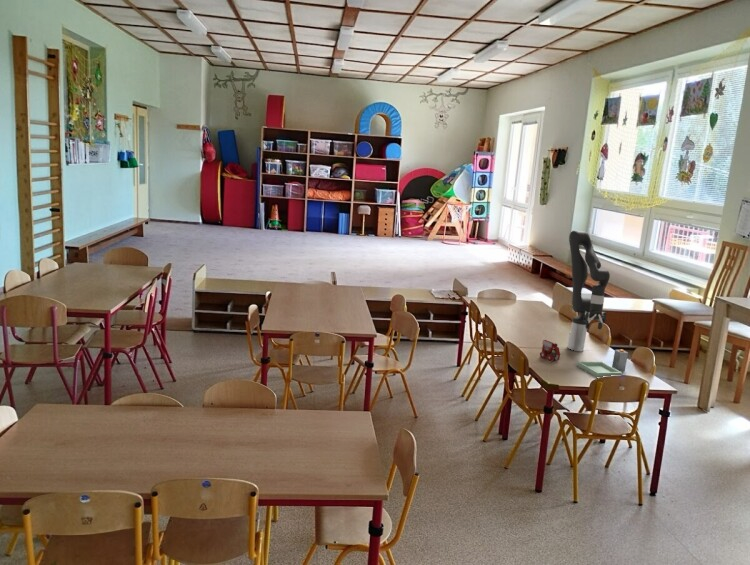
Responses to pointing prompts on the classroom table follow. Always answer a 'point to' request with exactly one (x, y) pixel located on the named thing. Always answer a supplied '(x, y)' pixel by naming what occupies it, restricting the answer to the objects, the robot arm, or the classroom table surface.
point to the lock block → (620, 360)
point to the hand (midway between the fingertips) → (593, 329)
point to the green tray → (598, 369)
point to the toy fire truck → (550, 351)
